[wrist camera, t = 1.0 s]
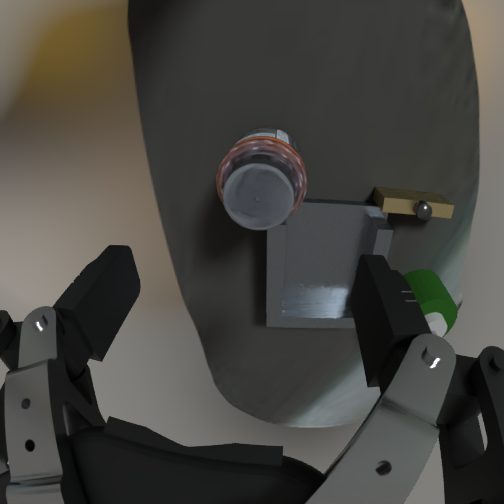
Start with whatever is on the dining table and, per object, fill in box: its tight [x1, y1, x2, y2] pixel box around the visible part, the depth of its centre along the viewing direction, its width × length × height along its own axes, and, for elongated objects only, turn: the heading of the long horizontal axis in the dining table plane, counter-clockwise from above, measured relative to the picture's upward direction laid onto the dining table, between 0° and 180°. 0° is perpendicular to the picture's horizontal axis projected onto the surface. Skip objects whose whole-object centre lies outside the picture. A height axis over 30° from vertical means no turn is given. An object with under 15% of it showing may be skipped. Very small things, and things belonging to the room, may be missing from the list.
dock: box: [266, 199, 394, 328], centre depth 28 cm, size 14×12×4 cm
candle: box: [403, 269, 458, 337], centre depth 27 cm, size 8×8×10 cm
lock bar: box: [373, 187, 454, 221], centre depth 23 cm, size 2×8×4 cm, turn 91°
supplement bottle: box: [216, 127, 307, 230], centre depth 20 cm, size 6×6×11 cm
